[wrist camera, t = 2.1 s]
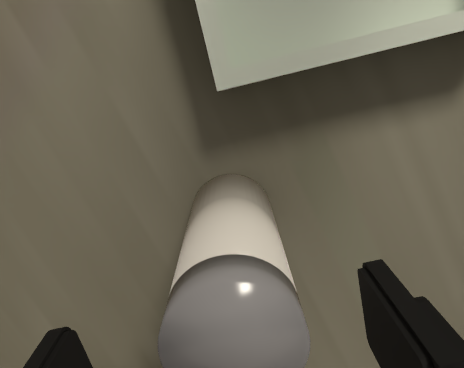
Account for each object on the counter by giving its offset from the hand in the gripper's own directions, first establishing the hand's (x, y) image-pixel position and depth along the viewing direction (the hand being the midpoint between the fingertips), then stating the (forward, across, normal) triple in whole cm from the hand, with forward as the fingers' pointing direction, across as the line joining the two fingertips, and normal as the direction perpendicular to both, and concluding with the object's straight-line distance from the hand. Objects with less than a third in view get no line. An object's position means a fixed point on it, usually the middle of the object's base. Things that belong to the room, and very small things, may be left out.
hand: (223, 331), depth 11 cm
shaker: (+10, 0, 0) cm, 10 cm away
